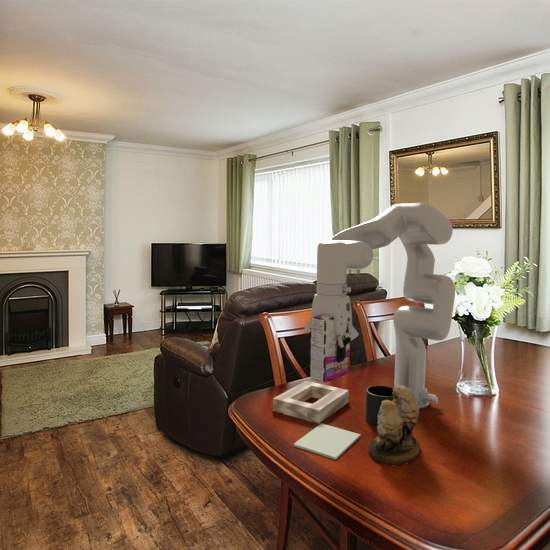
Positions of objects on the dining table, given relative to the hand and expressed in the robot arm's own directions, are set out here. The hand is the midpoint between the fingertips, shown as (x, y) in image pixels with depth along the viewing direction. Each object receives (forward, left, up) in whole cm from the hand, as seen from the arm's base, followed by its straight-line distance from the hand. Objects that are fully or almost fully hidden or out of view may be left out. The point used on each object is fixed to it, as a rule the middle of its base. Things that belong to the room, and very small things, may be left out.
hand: (329, 358), depth 114 cm
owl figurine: (-16, -6, -23) cm, 28 cm away
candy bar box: (0, 0, -5) cm, 5 cm away
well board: (+15, -18, -22) cm, 32 cm away
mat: (0, 0, -22) cm, 22 cm away
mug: (-7, -22, -23) cm, 32 cm away
